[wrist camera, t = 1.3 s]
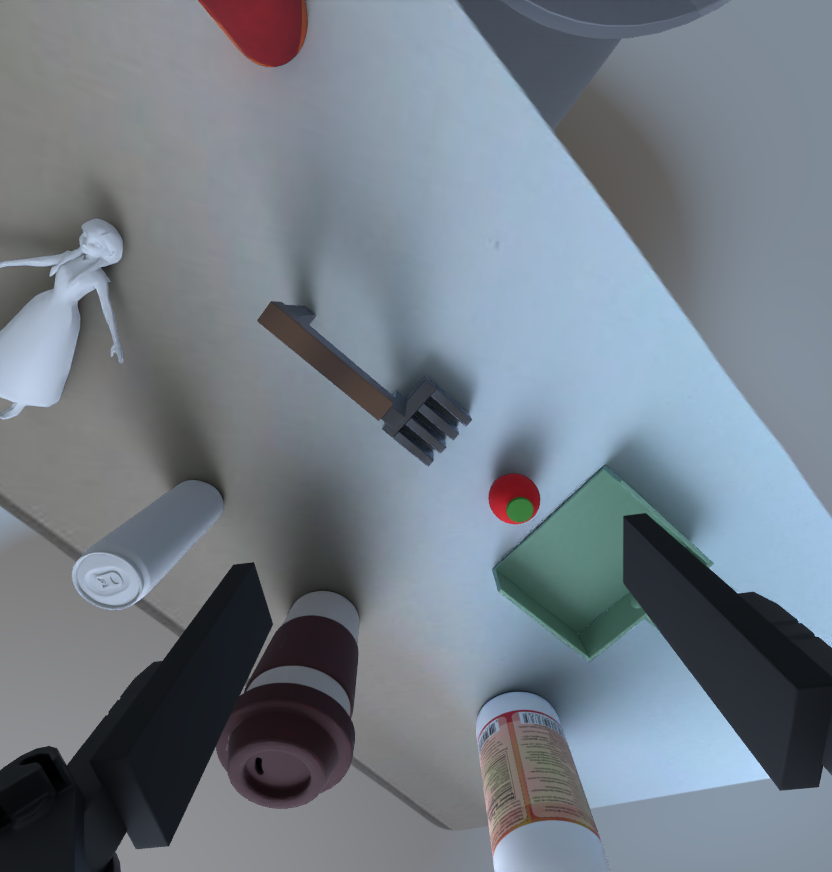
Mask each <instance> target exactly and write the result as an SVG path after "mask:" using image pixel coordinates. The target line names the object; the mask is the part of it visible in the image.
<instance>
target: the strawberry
mask: <svg viewBox="0 0 832 872" xmlns="http://www.w3.org/2000/svg"><path fill="white" fill-rule="evenodd" d="M489 504H490V507H491V510H492V511H493V513H494V514H495V515H496V516H497V517H498V518H499V519H500V520H502V521H504V522H506V523H510V524H521V523H524V522H527V521H529V520H530V519H531V518H533V517H534V515H535V514H536V513H537V511H538V509H539V505H540V494H539V491H538V488H537V487H536V485H535V484H534V482H533V481H532V480H530V479H529V478H528V477H526V476H524V475H521V474H515V473H512V474H506V475H503V476H501V477H500V478H498V479H497V480H496V481H495V482H494V483H493V485H492V486H491V489H490V491H489Z"/></svg>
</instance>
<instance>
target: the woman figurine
mask: <svg viewBox="0 0 832 872" xmlns="http://www.w3.org/2000/svg"><path fill="white" fill-rule="evenodd" d="M81 228H82V229H83V233H82V235H81V236H80V238H79V242H80V247H79V248H78V249H76V250H73V251H68V250H67V251H65V252H64V253H63V254H58V255H53V256H44V257H35V258H28V259H19V260H10V261H0V268H2V267H7V266H21V265H30V266H42V267H45V266H50V265H55V264H57V265H56V266H54V267H52V268H51V271H50V276H52V275H53V274H55V273H56V277H55V285H54V289H51V290H48V291H45V292H43V293H40V294H38V295H37V296H35V297H34V298H33V299H32V300H31V301H29V302H28V303H27V304H26V305H25V306H24V307H23V308H22V309H21V311H20V312H19V313H18V314H17V315H16V316H15V317H14V318H13V319H12V320H11V321H10V322H9V323H8V324H7V325H6V326H5V327H4V328H3V329H2V330H1V331H0V397H1V398H4V399H7V400H10V401H13V402H14V403H13V405H12V406H11V407H10V408H8V409H6V410H5V411H3V412H1V413H0V418H1V419H2V420H3V419H9V418H11V417H15V416H17V415H18V414H19V413H20V412H21V411H22V409H23V408H24V407H25V406H26V405H29V406H41V407H50V406H51V405H53V404H55V403H56V402H58V401H59V400H60V397H61V394H62V391H63V388H64V386H65V383H66V380H67V377H68V374H69V371H70V368H71V363H72V359H73V355H74V351H75V347H76V342H77V338H78V334H79V330H80V313H79V310H78V301H79V300H80V299H81V298H82V297H83V296H85V295H86V294H87V293H89V292H91V291H93V290H94V289H96V290H97V292H98V295H99V297H100V301H101V306H102V310H103V313H104V316H105V319H106V321H107V324H109V328H110V331H111V334H112V338H113V341H114V344H113V346H112V348H111V357H113V353H114V352H116V353H117V355H118V358H119V363H121V362H122V364H123V361H124V354H123V350H122V348H121V344H120V340H119V335H118V331H117V327H116V320H115V315H114V312H113V310H112V306H111V301H110V296H109V288H108V283H110V282H111V281H110V280H109V278H108V277H107V275H106V274H105V272H104V271H103V270H102V269H101V267H105V266H108V265H111V264H114V263H117V262H118V261H119V260H120V259H121V257H122V253H123V240H122V238H121V236H120V234H119V233H118V231H117V230H116V229H115V227H114V226H112V225H111V224H109V223H107V222H106V221H103V220H101V219H93V220H90V221H88V222H86V223H84V224H83V225H82V227H81ZM83 254H84V255H83ZM50 276H49V277H50Z"/></svg>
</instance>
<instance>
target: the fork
mask: <svg viewBox="0 0 832 872" xmlns="http://www.w3.org/2000/svg"><path fill="white" fill-rule="evenodd" d="M314 318H315V315H314V314H313V313H312V312H311V311H310V310H309V309H307V308H306V307H305V306H296V305H285V304H284V303H282V302H274V301H271V302H270V304H269V305H268V306H267V308H266V309H265V311H264V312H263V313H262V315H261V316H260V317H259V319H258V320H257V321H258V322H259V323H260V324H261V325H263V326H264V327H265V328H266V329H267V330H269V331H270V332H271V333H272V334H274V335H275V336H276V337H277V338H278V339H280V340H281V341H282V342H283V343H284V344H286V345H287V346H288V347H289V348H291V349H292V350H293V351H294V352H295V353H297V354H298V355H299V356H300V357H302V358H303V359H304V360H305V361H306V362H308V363H309V364H310V365H311V366H313V367H314V368H315V369H316V370H317V371H319V372H320V373H321V374H322V375H323V376H325V377H326V378H327V379H328V380H330V381H331V382H332V383H333V384H334V385H336V386H337V387H338V388H339V389H341V390H342V391H343V392H344V393H345V394H347V395H348V396H349V397H350V398H352V399H353V400H354V401H355V402H356V403H358V404H359V405H360V406H361V407H362V408H364V409H365V410H366V411H367V412H369V413H370V414H371V415H372V416H373V417H375V418H376V419H377V420H380V419H382V420H383V421H384V425H383V428H382V429H383V430H384V431H385V432H386V433H387V434H389V435H390V436H391V437H393V439H395V440H396V441H397V442H398V443H400V444H401V445H402V446H403V447H404V448H406V449H407V450H408V451H409V452H411V453H412V454H413V455H414V456H415V457H417V458H418V459H419V460H420V461H422V462H423V463H424V464H425V465H426V466H429V465H430V464H431V463H432V462H433V461H434V458H433V452H431V451H430V450H429V449H428V448H427V447H425V446H424V445H423V444H422V443H421V442H419V441H418V440H417V439H416V438H414V437H413V436H412V435H411V434H410V433H408V432H407V431H406V430H405V429H404V428H402V427H403V426H404V425H405V424H406V425H407V426H408V427H409V428H410V429H411V430H413V431H414V432H415V433H416V434H417V435H419V436H420V437H421V438H422V439H423V440H425V441H426V442H427V443H428V444H429V445H431V446H432V447H433V448H434V449H435V450H437V451H438V452H439V453H441V452H442V451H443V450H444V449H445V448H446V443H445V440H444V439H443V438H442V437H441V436H439V435H438V434H437V433H436V432H435V431H433V430H432V429H431V428H430V427H429V426H428V425H426V424H425V423H424V422H423V421H422V420H420V419H419V418H418V417H417V416H416V415H414V413H415V412H416V411H417V410H418V411H419V412H420V413H421V414H422V415H424V416H425V417H426V418H427V419H428V420H430V421H431V422H432V423H433V424H434V425H435V426H437V427H438V428H439V429H440V430H441V431H443V432H444V433H445V434H446V435H447V436H448V437H450V438H451V439H452V440H454V439H455V438H456V437H457V436H458V435H459V431H458V428H457V427H456V426H455V425H454V424H453V423H452V422H450V421H449V420H448V419H447V418H446V417H445V416H443V415H442V414H441V413H440V412H439V411H438V410H436V409H435V408H434V407H433V406H432V405H431V404H429V403H428V402H427V401H426V400H427V399H428V398H429V396H430V395H431V397H432V398H433V399H435V400H436V401H437V402H438V403H439V404H440V405H442V406H443V407H444V408H445V409H446V410H447V411H448V412H450V413H451V414H452V415H453V416H454V417H455V418H457V419H458V420H459V421H460V422H461V423H462V424H464V425H465V426H467V425H468V424H469V423H470V422H471V421H472V419H471V417H470V415H469V413H468V412H467V411H465V410H464V409H463V408H462V407H461V406H460V405H459V404H457V403H456V402H455V401H454V400H453V399H452V398H451V397H449V396H448V395H447V394H446V393H445V392H444V391H443V390H441V389H440V388H439V387H438V386H437V385H435V384H434V383H433V382H432V381H431V380H430V379H429V378H428V377H426V376H424V377H423V379H422V380H421V381H420V382H419V383H418V384H417V386H416V387H415V388H414V389H413V390H412V391H411V392H410V394H409V395H408V396H407V397H404V396H403V395H402V394H401V393H400V392H399V391H397V390H396V391H395V392H394V394H393V395H391V394H390V393H389V392H388V391H387V390H386V389H384V388H383V387H382V386H381V385H380V384H378V383H377V382H376V381H375V380H374V379H372V378H371V377H370V376H369V375H368V374H367V373H365V372H364V371H363V370H362V369H361V368H359V367H358V366H357V365H356V364H355V363H353V362H352V361H351V360H350V359H349V358H348V357H346V356H345V355H344V354H343V353H342V352H340V351H339V350H338V349H337V348H336V347H335V346H333V345H332V344H331V343H330V342H329V341H327V340H326V339H325V338H324V337H323V336H321V335H320V334H319V333H318V332H317V331H316V330H314V329H313V328H312V327H311V326H310V325H309V324H310V323H311V322H312V320H313V319H314Z"/></svg>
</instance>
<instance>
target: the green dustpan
mask: <svg viewBox="0 0 832 872" xmlns="http://www.w3.org/2000/svg"><path fill="white" fill-rule="evenodd" d="M641 513H647V514H648V515H649V516H650V517H651V518H652V519H653V520H655V521H656V522H657V523H658V524H659V525H660V526H661V527H662V528H664V529H665V530H666V531H667V532H668V533H669V534H670V535H672V536H673V537H674V538H675V539H676V540H677V541H678V542H680V543H681V544H682V545H683V546H684V547H685V546H686V547H685V548H686V549H688V550H689V551H690V552H691V553H692V554H693V555H694V556H695V557H697V558H698V559H699V560H700V561H701V562H702V563H703V564H705V565H706V566H707V567H708V568H709V567H711V566H712V565H713V564H714V563H713V562H712V561H711V560H709V559H708V558H707V557H706V556H705V555H704V554H703V553H702V552H701V551H700V550H699V549H698V548H696V547H695V546H694V545H693V544H692V543H691V542H690V541H689V540H688V539H687V538H686V537H685V536H683V535H682V534H681V533H680V532H679V531H678V530H677V529H676V528H675V527H674V526H673V525H671V524H670V523H669V522H668V521H667V520H666V519H665V518H664V517H663V516H662V515H661V514H660V513H658V512H657V511H656V510H655V509H654V508H653V507H652V506H651V505H650V504H649V503H648V502H647V501H645V500H644V499H643V498H642V497H641V496H640V495H639V494H638V493H637V492H636V491H635V490H633V489H632V488H631V487H630V486H629V485H628V484H627V483H626V482H625V481H624V480H623V479H621V478H620V477H619V476H618V475H616V474H615V473H614V472H613V471H612V470H610V469H609V468H608V467H607V466H604V467H603V468H602V469H601V470H599V471H598V472H597V473H596V474H595V475H594V476H593V477H592V478H591V479H590V480H589V481H588V482H587V483H585V484H584V485H583V486H582V487H581V488H580V489H579V490H578V491H577V492H576V493H575V494H574V495H572V496H571V497H570V498H569V499H568V500H567V501H566V502H565V503H564V504H563V505H562V506H561V507H560V508H558V509H557V510H556V511H555V512H554V513H553V514H552V515H551V516H550V517H549V518H548V519H547V520H545V521H544V522H543V523H542V524H541V525H540V526H539V527H538V528H537V529H536V530H535V531H534V532H532V533H531V534H530V535H529V536H528V537H527V538H526V539H525V540H524V541H523V542H522V543H521V544H520V545H518V546H517V547H516V548H515V549H514V550H513V551H512V552H511V553H510V554H509V555H508V556H507V557H505V558H504V559H503V560H502V561H501V562H500V563H499V564H498V565H497V566H496V567H495V568H494V569H493V570H492V571H493V575H494V578H495V582H496V585H497V589H498V592H499V593H501V594H502V595H503V596H505V597H506V598H507V599H508V600H510V601H511V602H512V603H514V604H515V605H516V606H518V607H519V608H520V609H521V610H523V611H524V612H525V613H527V614H528V615H529V616H530V617H532V618H533V619H534V620H536V621H537V622H538V623H540V624H541V625H542V626H543V627H545V628H546V629H547V630H549V631H550V632H551V633H552V634H554V635H555V636H556V637H558V638H559V639H560V640H561V641H563V642H564V643H565V644H567V645H568V646H569V647H571V648H572V649H573V650H574V651H576V652H577V653H578V654H580V655H581V656H582V657H583V658H585V659H586V660H587V661H589V662H590V661H591V660H593V659H594V658H595V657H596V656H598V655H599V654H600V653H601V652H603V651H604V650H605V649H607V648H608V647H609V646H610V645H612V644H613V643H614V642H615V641H617V640H618V639H619V638H620V637H622V636H623V635H624V634H626V633H627V632H628V631H629V630H631V629H632V628H633V627H634V626H636V625H637V624H638V623H640V622H641V621H642V620H643V619H646V620H647V621H648V622H650V623H651V624H652V625H653V626H654V627H656V626H655V625H654V623H653V622H652V621H651V619H650V618H649V617H648V615H647V614H646V613H645V611H644V610H643V609H642V607H641V606H640V605H639V603H638V602H637V601H636V599H635V598H634V597H633V596H632V594H631V593H630V592H629V590H628V589H627V588H626V586H625V585H624V584H623V516H625V515H633V514H641ZM627 593H628V594H627ZM626 594H627V595H626ZM625 595H626V596H625ZM621 598H622V599H621ZM620 599H621V600H620ZM619 600H620V601H619ZM616 602H617V603H616ZM615 603H616V604H615ZM614 604H615V605H614ZM610 607H611V608H610ZM609 608H610V609H609ZM608 609H609V610H608ZM605 611H606V612H605ZM604 612H605V613H604ZM603 613H604V614H603ZM600 615H601V616H600ZM599 616H600V617H599ZM598 617H599V618H598ZM594 620H595V621H594ZM593 621H594V622H593ZM592 622H593V623H592ZM589 624H590V625H589ZM588 625H589V626H588ZM587 626H588V627H587ZM656 628H657V627H656ZM583 629H584V630H583ZM582 630H583V631H582ZM581 631H582V632H581ZM578 633H579V634H578Z"/></svg>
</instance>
